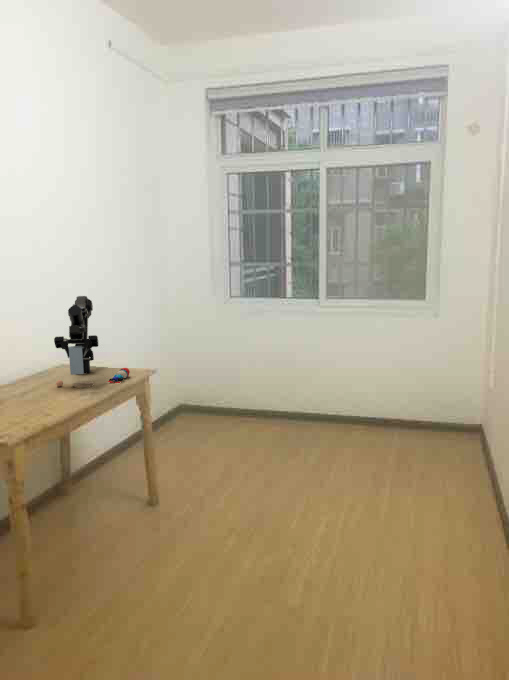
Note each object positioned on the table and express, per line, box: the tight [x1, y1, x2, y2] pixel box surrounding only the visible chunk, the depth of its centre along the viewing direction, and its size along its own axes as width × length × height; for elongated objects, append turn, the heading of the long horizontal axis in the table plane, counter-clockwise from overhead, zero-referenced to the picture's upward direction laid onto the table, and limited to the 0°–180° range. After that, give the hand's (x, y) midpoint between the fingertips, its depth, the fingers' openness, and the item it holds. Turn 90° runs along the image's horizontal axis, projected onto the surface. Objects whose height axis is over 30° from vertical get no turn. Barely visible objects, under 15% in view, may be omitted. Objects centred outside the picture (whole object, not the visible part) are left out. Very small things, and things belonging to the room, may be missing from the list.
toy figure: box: [107, 367, 131, 384], centre depth 261 cm, size 8×5×15 cm
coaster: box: [72, 381, 94, 388], centre depth 251 cm, size 9×9×1 cm
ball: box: [55, 379, 64, 388], centre depth 248 cm, size 3×3×3 cm
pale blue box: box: [68, 345, 84, 376], centre depth 248 cm, size 5×6×12 cm
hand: (75, 357), depth 246 cm, fingers closed on pale blue box, 6 cm apart
